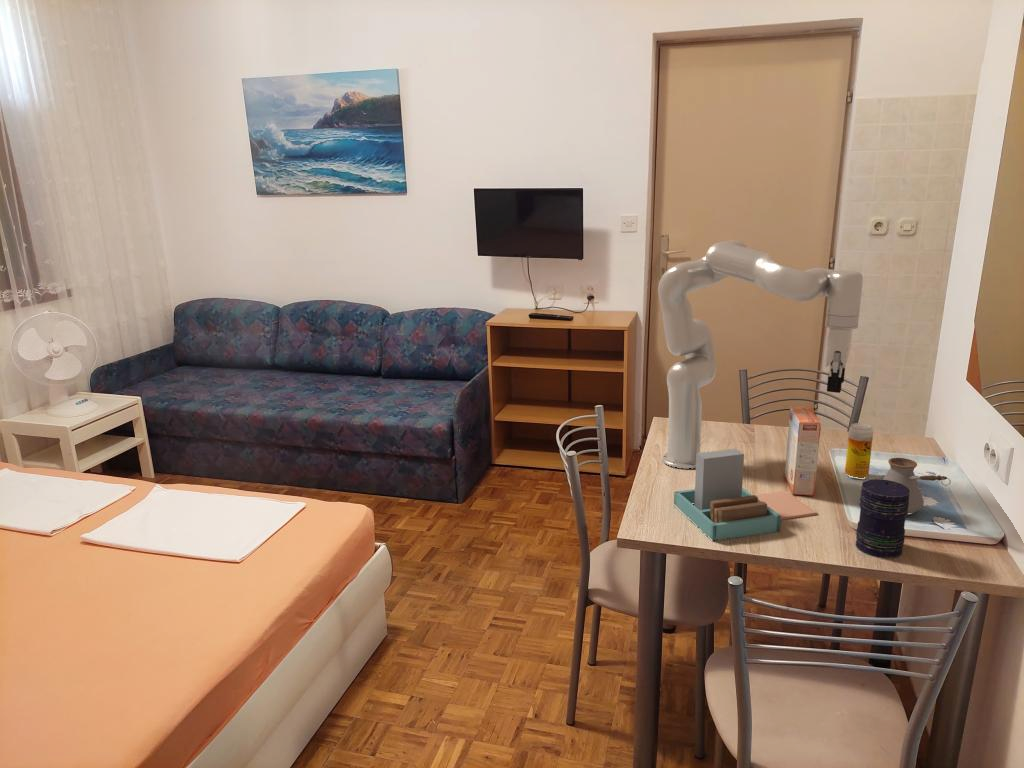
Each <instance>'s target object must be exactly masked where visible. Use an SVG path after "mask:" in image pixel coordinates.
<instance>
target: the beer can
mask: <svg viewBox="0 0 1024 768" xmlns="http://www.w3.org/2000/svg"><path fill="white" fill-rule="evenodd" d="M873 436H874V430H873V426H872V425H870V424H867V423H862V422H861V423H860V422H858V423H857V422H854V423H852V424H851V425H850V427H849V428H848V438H847V446H846V447H847V448H846V458H845V470H844V474H845V475H846V474H848V475H850V476H853V477H858V478H864V477H866V478H868V477H869V474H870V465H871V455H872V447H873V446H872V445H873ZM867 476H868V477H867Z"/></svg>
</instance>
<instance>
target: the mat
mask: <svg viewBox="0 0 1024 768" xmlns="http://www.w3.org/2000/svg"><path fill="white" fill-rule="evenodd" d="M754 495H755V496H757V497H758V500H760V501H761V502H765V503H766V504H767V506H768V507H769V508H771V509H772V510H774V511H775V512H776V513H778V514H779V515H780V516H781V521H782V520H788V519H789V520H790V519H795V518H796V519H797V518H801V517H802V518H803V517H810V516H816V515H818V512H817V511H816V510H814V509H813V508H811V507H810V506H809V505H807V504H805V503H804V502H803V501H801V500H800V499H798V498H797V497H795V495H793V494H791V493H789V492H788V491H786V490H781V491H774V492H767V493H758V494H754Z"/></svg>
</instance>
